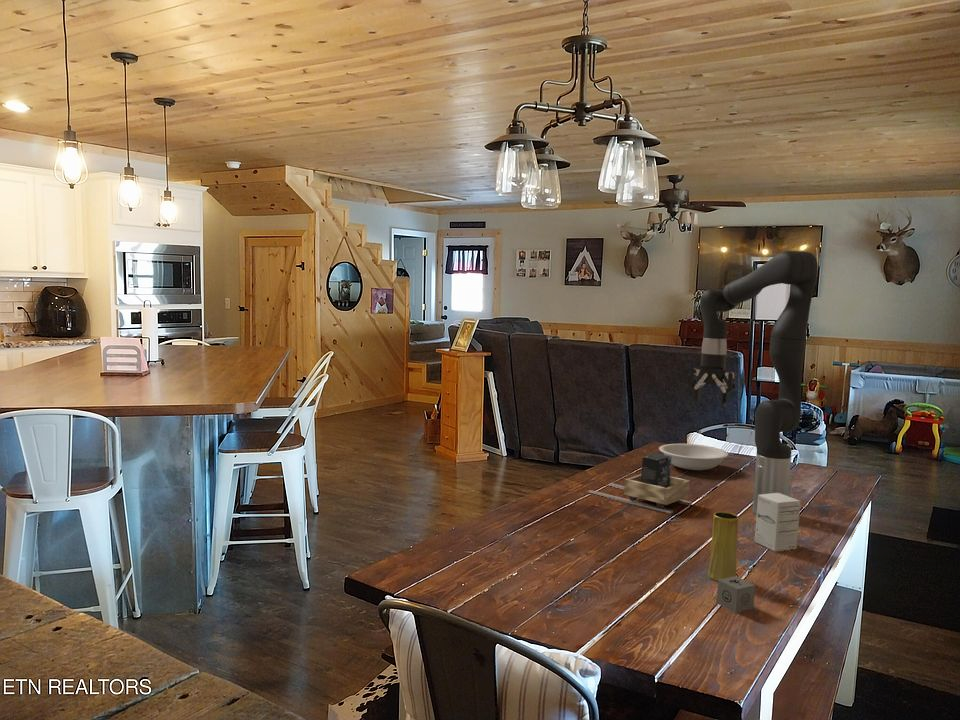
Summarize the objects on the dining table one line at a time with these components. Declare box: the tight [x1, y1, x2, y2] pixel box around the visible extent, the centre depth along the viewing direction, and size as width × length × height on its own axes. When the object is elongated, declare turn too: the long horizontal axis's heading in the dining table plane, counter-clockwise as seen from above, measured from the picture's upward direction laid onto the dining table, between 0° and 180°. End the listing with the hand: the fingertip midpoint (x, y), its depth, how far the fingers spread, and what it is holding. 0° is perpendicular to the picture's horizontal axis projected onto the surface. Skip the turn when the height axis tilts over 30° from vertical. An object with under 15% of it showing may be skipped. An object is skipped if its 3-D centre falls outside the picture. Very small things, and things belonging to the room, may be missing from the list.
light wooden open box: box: [623, 473, 691, 508], centre depth 216 cm, size 14×14×6 cm
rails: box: [587, 482, 693, 515], centre depth 221 cm, size 28×14×1 cm, turn 48°
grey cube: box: [716, 575, 756, 614], centre depth 147 cm, size 5×5×5 cm
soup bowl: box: [658, 443, 729, 471], centre depth 261 cm, size 24×24×7 cm
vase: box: [707, 511, 739, 582], centre depth 160 cm, size 6×6×14 cm
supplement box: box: [754, 493, 802, 552], centre depth 182 cm, size 7×7×13 cm
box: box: [640, 452, 672, 488], centre depth 216 cm, size 8×6×11 cm
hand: (710, 402), depth 232 cm, fingers open, 8 cm apart
